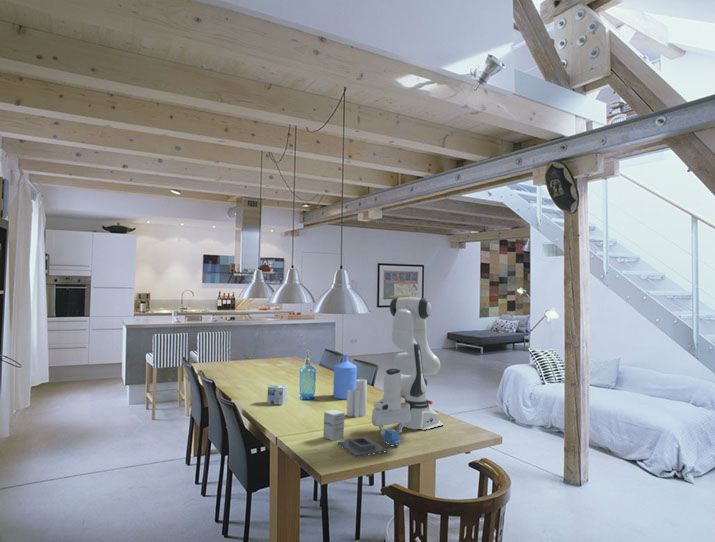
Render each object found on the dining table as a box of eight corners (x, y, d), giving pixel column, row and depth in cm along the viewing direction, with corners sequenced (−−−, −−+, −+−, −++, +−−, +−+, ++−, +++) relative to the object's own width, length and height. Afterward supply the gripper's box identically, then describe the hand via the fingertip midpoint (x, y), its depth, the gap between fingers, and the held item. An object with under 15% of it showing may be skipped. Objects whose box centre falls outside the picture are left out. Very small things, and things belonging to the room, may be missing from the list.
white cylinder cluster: (362, 412, 265) (363, 378, 266) (368, 416, 259) (369, 381, 260) (345, 414, 260) (346, 380, 261) (350, 418, 254) (351, 382, 255)
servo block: (388, 439, 220) (388, 424, 221) (401, 446, 210) (402, 431, 210) (381, 440, 218) (381, 425, 219) (394, 448, 208) (394, 432, 208)
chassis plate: (367, 439, 218) (367, 433, 218) (387, 452, 202) (387, 445, 202) (337, 444, 211) (337, 438, 211) (355, 457, 195) (355, 450, 195)
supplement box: (322, 437, 220) (323, 411, 220) (334, 434, 225) (334, 409, 225) (332, 441, 214) (333, 414, 215) (344, 438, 219) (344, 412, 220)
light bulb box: (266, 404, 280) (267, 386, 280) (271, 401, 286) (271, 384, 286) (282, 405, 277) (283, 387, 277) (287, 402, 284) (287, 385, 284)
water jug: (355, 400, 295) (357, 357, 296) (332, 399, 295) (333, 356, 296) (356, 394, 310) (357, 353, 311) (333, 393, 311) (335, 353, 312)
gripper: (406, 400, 222) (405, 428, 221) (370, 404, 213) (369, 433, 212) (413, 403, 217) (412, 432, 216) (377, 407, 207) (376, 437, 206)
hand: (391, 433), depth 214 cm, fingers open, 8 cm apart
